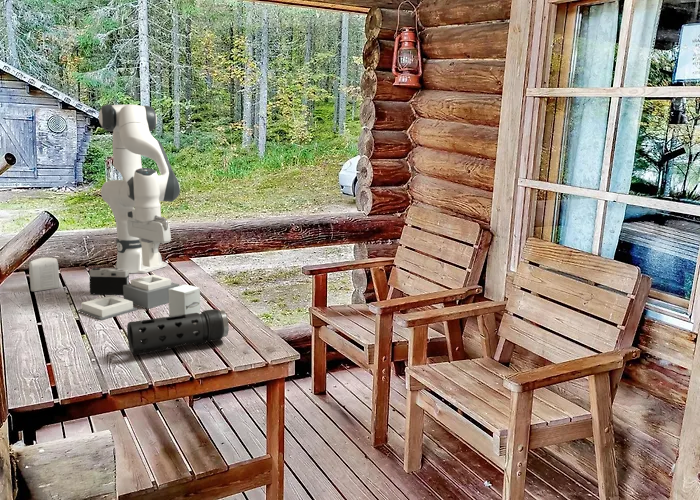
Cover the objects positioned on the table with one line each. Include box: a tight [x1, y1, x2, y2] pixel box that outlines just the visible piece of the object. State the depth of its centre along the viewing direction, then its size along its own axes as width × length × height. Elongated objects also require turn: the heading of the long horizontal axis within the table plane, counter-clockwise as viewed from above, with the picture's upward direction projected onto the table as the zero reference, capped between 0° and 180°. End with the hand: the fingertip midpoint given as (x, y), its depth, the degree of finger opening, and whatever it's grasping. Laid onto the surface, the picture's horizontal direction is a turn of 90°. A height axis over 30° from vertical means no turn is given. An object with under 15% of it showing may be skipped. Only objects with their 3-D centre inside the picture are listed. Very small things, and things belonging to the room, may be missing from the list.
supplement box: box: [168, 283, 201, 317], centre depth 195 cm, size 7×7×13 cm
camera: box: [89, 267, 130, 296], centre depth 226 cm, size 14×9×10 cm, turn 87°
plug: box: [141, 239, 159, 267], centre depth 215 cm, size 4×4×10 cm
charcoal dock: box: [123, 274, 180, 310], centre depth 218 cm, size 14×14×8 cm
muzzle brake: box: [126, 308, 230, 356], centre depth 176 cm, size 10×28×10 cm, turn 121°
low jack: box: [77, 295, 138, 321], centre depth 206 cm, size 14×14×3 cm
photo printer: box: [28, 257, 60, 292], centre depth 227 cm, size 10×4×12 cm, turn 134°
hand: (150, 251), depth 215 cm, fingers closed on plug, 4 cm apart
